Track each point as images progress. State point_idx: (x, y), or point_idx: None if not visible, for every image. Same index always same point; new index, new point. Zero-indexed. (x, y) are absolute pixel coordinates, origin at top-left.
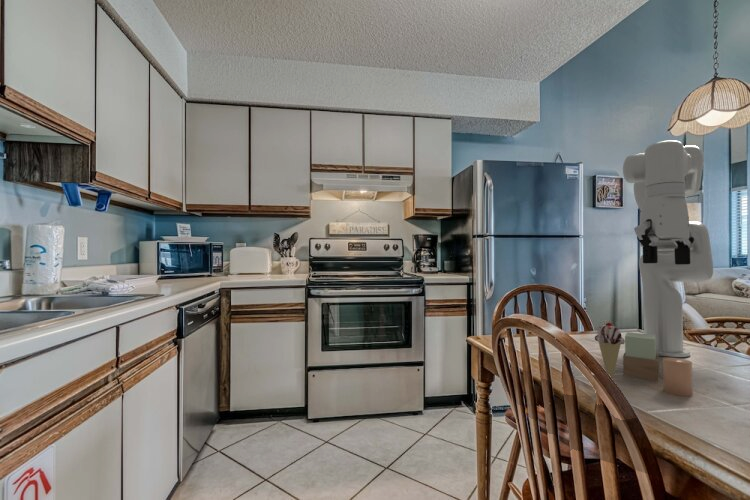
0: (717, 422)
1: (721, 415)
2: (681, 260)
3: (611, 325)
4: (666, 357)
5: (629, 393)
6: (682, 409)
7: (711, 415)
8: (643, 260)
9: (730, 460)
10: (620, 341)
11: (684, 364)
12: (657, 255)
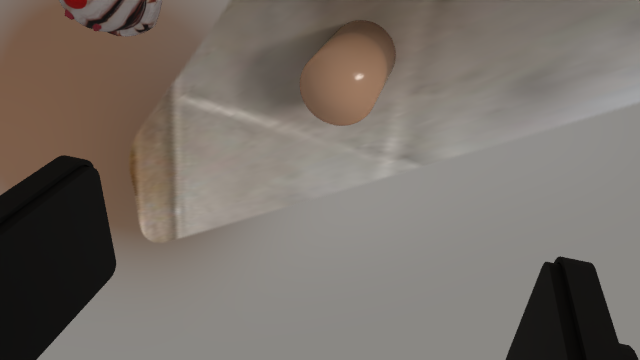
0: (261, 180)
1: (303, 170)
2: (527, 351)
3: (77, 9)
4: (343, 51)
5: (227, 7)
6: (258, 122)
7: (284, 162)
8: (47, 172)
9: (158, 232)
10: (123, 35)
11: (321, 118)
12: (69, 322)
